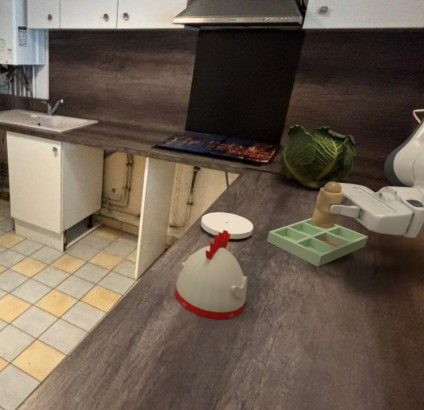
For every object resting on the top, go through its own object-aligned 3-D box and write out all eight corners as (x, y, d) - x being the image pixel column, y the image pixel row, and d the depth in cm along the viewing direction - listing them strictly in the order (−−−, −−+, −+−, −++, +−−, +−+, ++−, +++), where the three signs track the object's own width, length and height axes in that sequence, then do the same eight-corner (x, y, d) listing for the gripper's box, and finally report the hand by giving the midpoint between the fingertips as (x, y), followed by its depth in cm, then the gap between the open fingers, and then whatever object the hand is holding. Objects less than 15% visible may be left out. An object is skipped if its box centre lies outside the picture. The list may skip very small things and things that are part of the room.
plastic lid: (223, 216, 112) (224, 208, 111) (262, 234, 101) (264, 226, 100) (190, 226, 106) (191, 218, 105) (228, 246, 95) (229, 238, 94)
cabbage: (322, 194, 147) (348, 140, 142) (350, 203, 124) (382, 139, 118) (260, 174, 151) (283, 121, 146) (276, 179, 128) (305, 116, 123)
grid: (364, 246, 95) (368, 236, 94) (317, 266, 86) (321, 255, 85) (312, 225, 106) (315, 216, 105) (266, 241, 97) (269, 231, 96)
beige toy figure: (338, 225, 80) (351, 183, 76) (326, 229, 78) (339, 186, 74) (318, 218, 84) (329, 177, 80) (307, 222, 82) (318, 180, 78)
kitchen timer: (255, 297, 75) (270, 234, 69) (224, 329, 67) (238, 261, 61) (196, 270, 85) (205, 212, 79) (162, 295, 76) (169, 233, 70)
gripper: (371, 177, 85) (308, 175, 87) (433, 212, 67) (352, 208, 69) (363, 202, 88) (302, 198, 90) (420, 242, 69) (342, 237, 71)
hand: (324, 203), depth 79 cm, fingers closed on beige toy figure, 4 cm apart
